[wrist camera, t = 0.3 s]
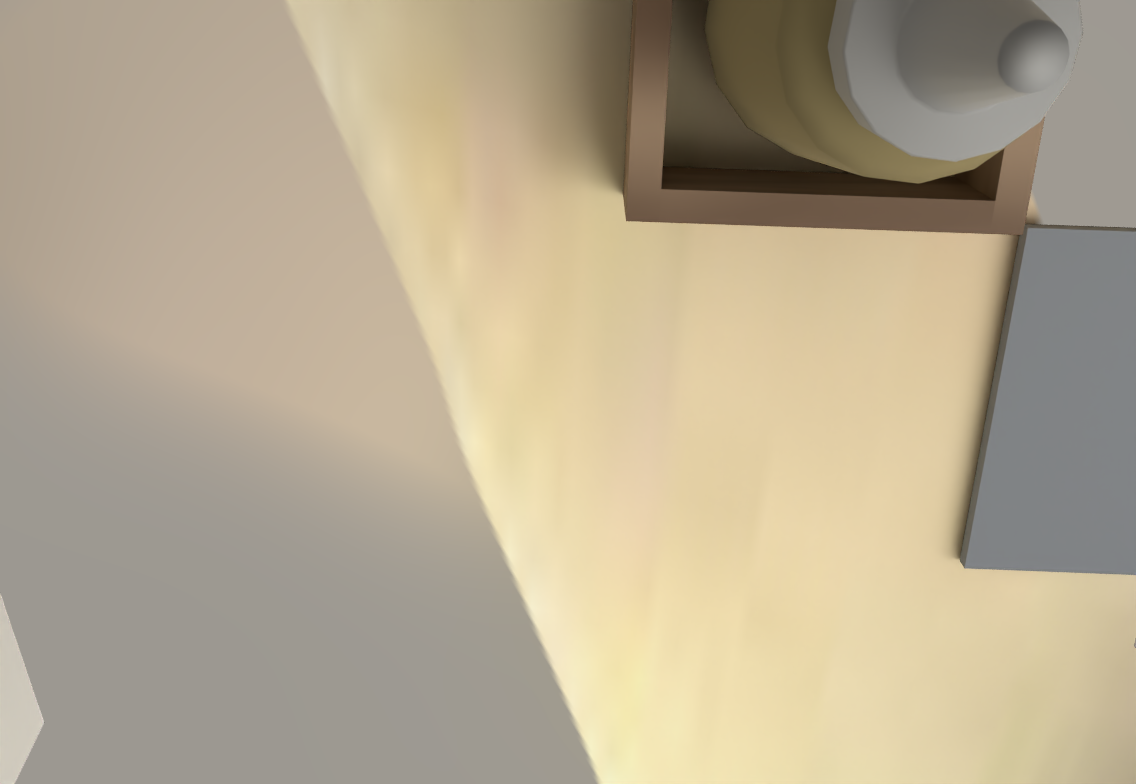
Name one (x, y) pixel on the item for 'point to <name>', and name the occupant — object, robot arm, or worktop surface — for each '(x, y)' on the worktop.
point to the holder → (800, 198)
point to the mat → (1061, 411)
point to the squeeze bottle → (893, 77)
